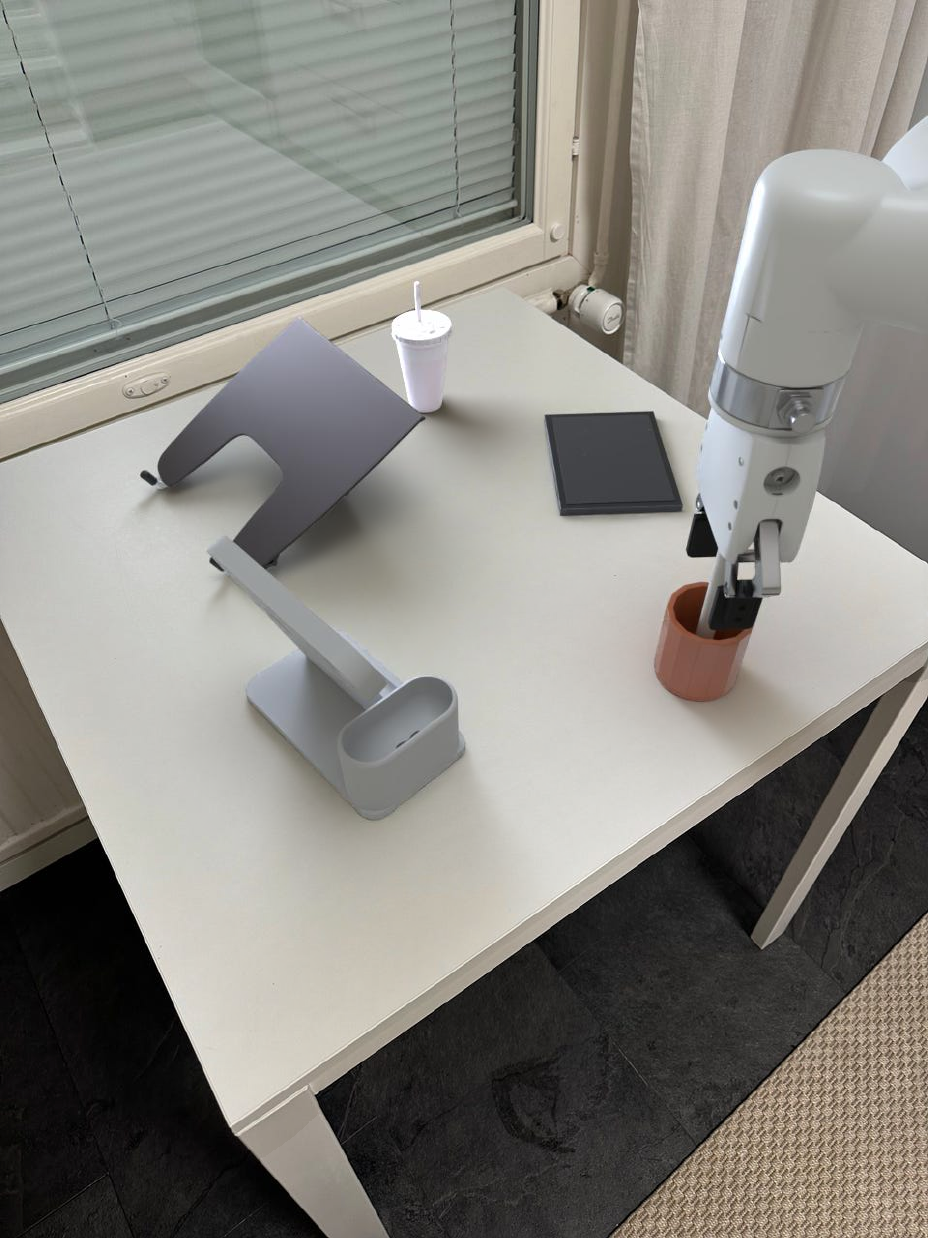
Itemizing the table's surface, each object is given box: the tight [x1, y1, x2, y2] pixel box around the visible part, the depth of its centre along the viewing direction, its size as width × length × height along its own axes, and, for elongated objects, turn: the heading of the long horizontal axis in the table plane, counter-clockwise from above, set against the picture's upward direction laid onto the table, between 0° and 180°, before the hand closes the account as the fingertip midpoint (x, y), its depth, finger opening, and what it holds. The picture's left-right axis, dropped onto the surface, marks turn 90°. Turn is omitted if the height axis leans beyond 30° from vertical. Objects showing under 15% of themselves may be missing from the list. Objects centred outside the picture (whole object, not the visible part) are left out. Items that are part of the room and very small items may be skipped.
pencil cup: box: [654, 581, 756, 702], centre depth 71 cm, size 7×7×7 cm
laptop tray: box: [139, 316, 426, 575], centre depth 88 cm, size 23×23×9 cm
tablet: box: [543, 410, 684, 516], centre depth 92 cm, size 12×16×1 cm
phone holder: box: [206, 533, 466, 821], centre depth 64 cm, size 17×10×18 cm, turn 43°
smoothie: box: [391, 281, 453, 414], centre depth 95 cm, size 6×6×14 cm
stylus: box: [695, 548, 726, 640], centre depth 68 cm, size 1×1×14 cm
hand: (717, 587), depth 67 cm, fingers open, 6 cm apart
